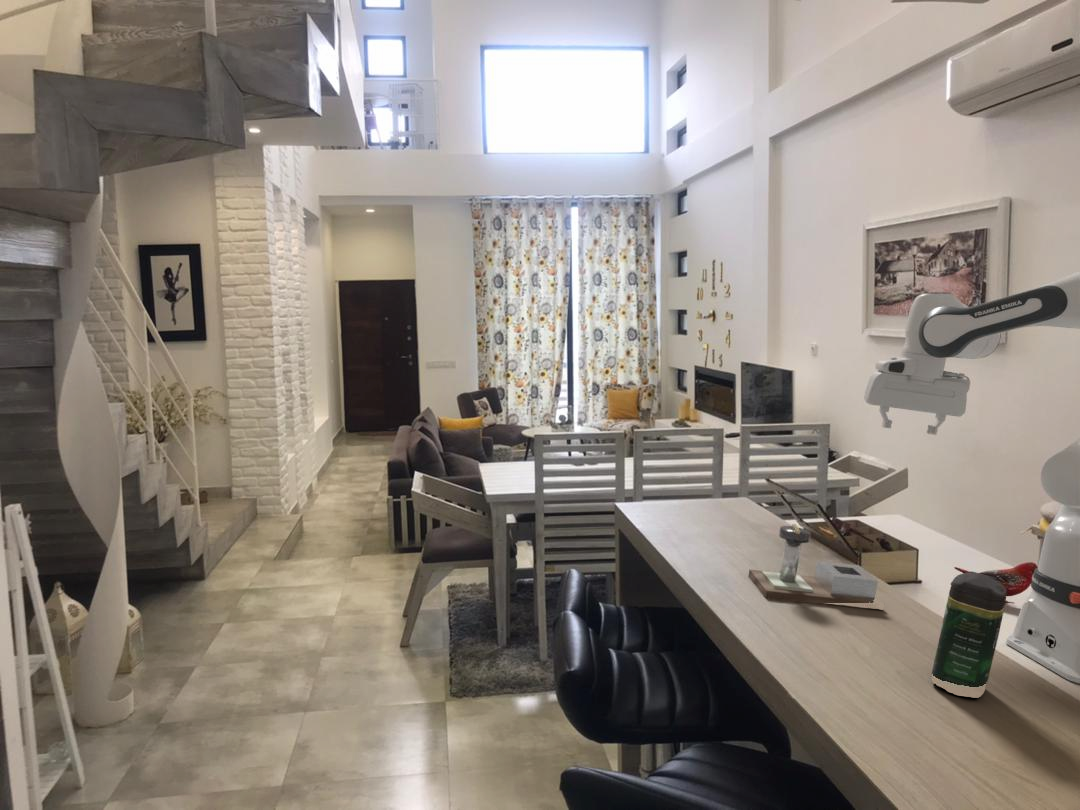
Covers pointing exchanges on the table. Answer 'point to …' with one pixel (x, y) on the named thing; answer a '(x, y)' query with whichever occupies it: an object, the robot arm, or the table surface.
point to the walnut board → (796, 589)
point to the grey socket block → (845, 580)
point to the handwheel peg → (792, 551)
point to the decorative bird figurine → (1012, 577)
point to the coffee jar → (970, 630)
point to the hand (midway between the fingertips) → (908, 430)
